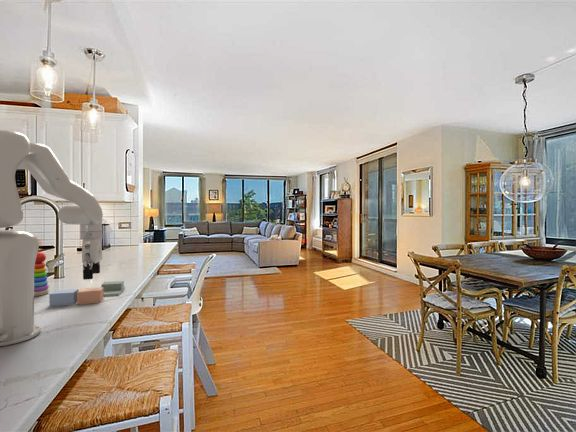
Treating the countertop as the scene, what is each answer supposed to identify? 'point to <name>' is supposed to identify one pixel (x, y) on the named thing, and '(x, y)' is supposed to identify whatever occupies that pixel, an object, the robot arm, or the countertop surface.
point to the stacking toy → (40, 276)
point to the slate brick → (63, 297)
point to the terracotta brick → (89, 295)
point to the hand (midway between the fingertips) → (91, 276)
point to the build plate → (111, 293)
